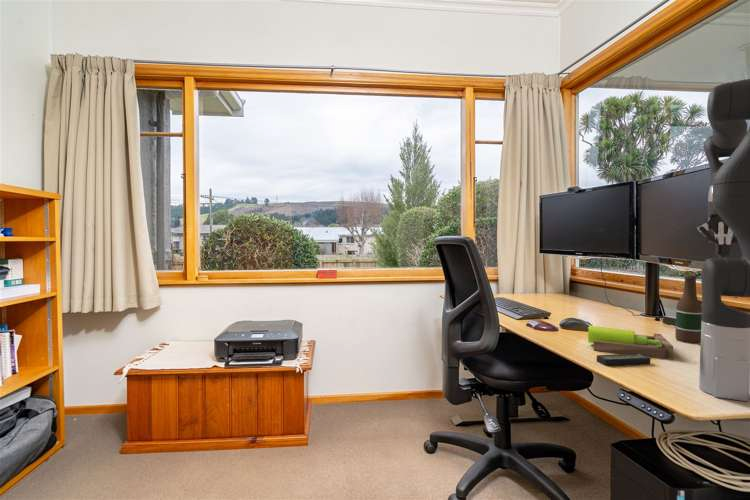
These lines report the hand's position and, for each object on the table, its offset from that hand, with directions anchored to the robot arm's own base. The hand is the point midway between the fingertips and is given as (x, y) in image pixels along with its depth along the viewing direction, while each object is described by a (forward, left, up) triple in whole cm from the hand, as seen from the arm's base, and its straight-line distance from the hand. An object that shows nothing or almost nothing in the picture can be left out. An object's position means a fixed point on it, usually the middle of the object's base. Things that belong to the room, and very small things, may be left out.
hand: (722, 256), depth 116 cm
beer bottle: (+22, +2, -32) cm, 39 cm away
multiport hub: (-15, +27, -33) cm, 45 cm away
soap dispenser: (+1, +35, -28) cm, 45 cm away
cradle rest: (+3, +23, -32) cm, 40 cm away
